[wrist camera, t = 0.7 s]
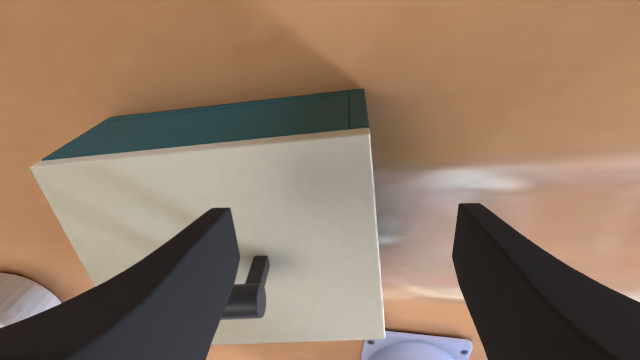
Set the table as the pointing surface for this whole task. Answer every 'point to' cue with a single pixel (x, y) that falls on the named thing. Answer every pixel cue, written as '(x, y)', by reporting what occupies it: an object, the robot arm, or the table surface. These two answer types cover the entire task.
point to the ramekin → (22, 299)
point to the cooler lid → (242, 226)
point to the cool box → (222, 124)
